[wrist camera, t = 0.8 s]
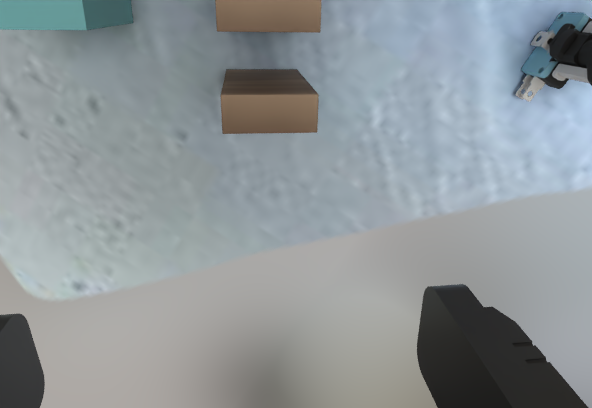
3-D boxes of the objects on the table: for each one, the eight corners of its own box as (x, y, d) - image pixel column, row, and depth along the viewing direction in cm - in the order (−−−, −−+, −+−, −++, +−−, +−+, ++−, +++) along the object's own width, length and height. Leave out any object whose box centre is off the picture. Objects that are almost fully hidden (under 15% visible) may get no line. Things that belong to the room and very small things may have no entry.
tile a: (226, 69, 32) (220, 94, 23) (296, 69, 33) (318, 94, 24) (227, 98, 33) (222, 133, 24) (296, 97, 33) (317, 132, 24)
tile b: (222, -9, 30) (214, -15, 21) (298, -8, 31) (321, -13, 22) (224, 23, 31) (217, 31, 22) (297, 24, 31) (320, 32, 22)
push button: (538, 111, 36) (639, 147, 27) (488, 78, 34) (577, 104, 25) (596, 33, 34) (727, 43, 25) (545, -6, 32) (664, -11, 23)
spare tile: (48, -13, 29) (-41, -20, 20) (129, -11, 29) (79, -18, 20) (54, 21, 30) (-29, 28, 21) (133, 22, 30) (86, 30, 21)
